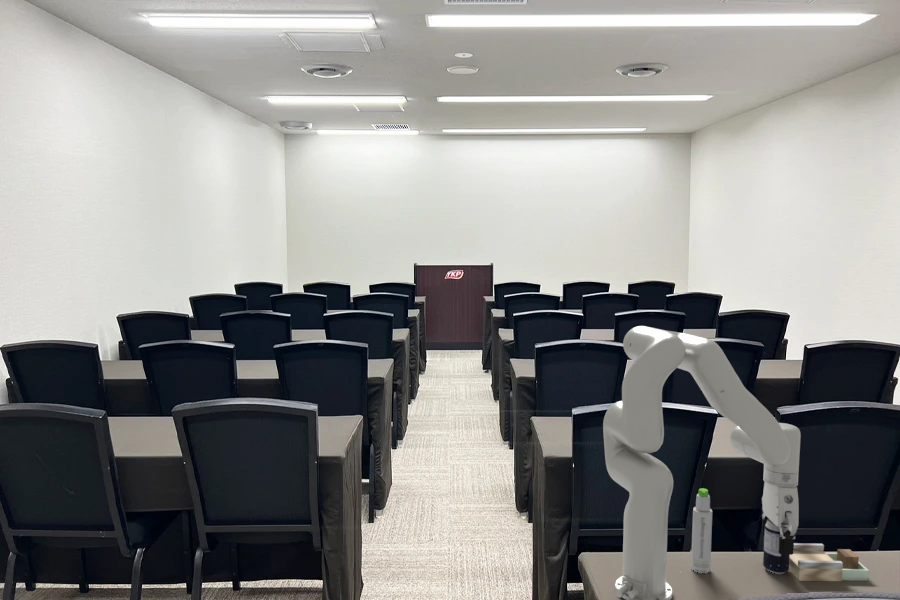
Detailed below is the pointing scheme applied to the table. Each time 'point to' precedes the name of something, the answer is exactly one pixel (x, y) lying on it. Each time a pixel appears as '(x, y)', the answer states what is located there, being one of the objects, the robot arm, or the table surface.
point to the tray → (852, 571)
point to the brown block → (847, 558)
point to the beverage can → (774, 550)
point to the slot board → (814, 563)
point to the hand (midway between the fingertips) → (776, 544)
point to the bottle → (701, 533)
